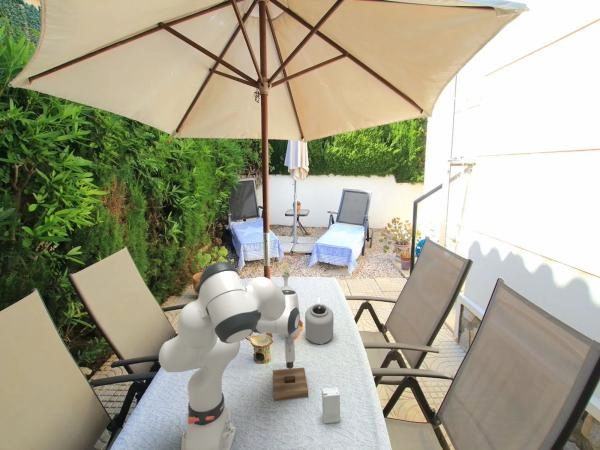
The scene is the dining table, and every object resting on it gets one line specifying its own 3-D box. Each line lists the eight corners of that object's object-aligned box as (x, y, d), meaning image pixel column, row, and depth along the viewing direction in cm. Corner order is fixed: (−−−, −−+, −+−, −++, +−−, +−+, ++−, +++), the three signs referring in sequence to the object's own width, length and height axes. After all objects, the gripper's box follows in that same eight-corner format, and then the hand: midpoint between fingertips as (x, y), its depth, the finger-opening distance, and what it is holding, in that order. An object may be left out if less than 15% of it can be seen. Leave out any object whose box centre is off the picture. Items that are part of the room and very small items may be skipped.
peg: (293, 368, 134) (293, 346, 131) (286, 368, 134) (285, 347, 131) (293, 363, 137) (292, 342, 134) (286, 364, 136) (285, 343, 134)
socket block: (308, 397, 131) (308, 389, 130) (273, 400, 130) (273, 393, 129) (304, 374, 145) (304, 367, 144) (273, 377, 143) (272, 370, 143)
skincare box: (337, 413, 123) (337, 385, 120) (340, 423, 118) (340, 394, 116) (321, 415, 122) (321, 387, 119) (323, 424, 118) (323, 396, 115)
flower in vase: (276, 292, 230) (275, 259, 225) (291, 290, 234) (290, 257, 228) (281, 300, 218) (279, 264, 213) (297, 297, 222) (296, 262, 216)
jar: (335, 350, 162) (335, 304, 156) (305, 350, 162) (304, 304, 156) (331, 330, 180) (331, 288, 175) (305, 330, 180) (304, 288, 175)
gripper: (298, 342, 121) (299, 373, 124) (294, 314, 141) (295, 342, 144) (281, 343, 121) (282, 375, 124) (280, 315, 140) (281, 343, 144)
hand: (289, 357), depth 134 cm, fingers closed on peg, 3 cm apart
